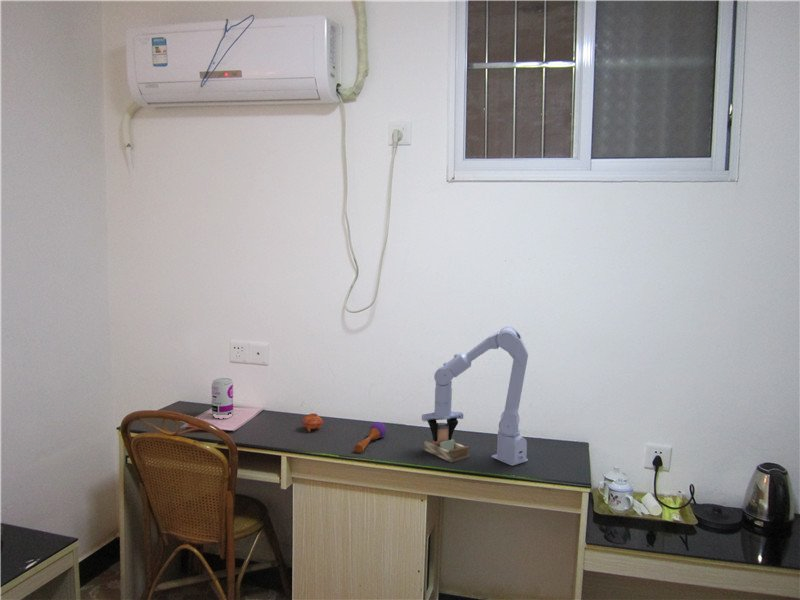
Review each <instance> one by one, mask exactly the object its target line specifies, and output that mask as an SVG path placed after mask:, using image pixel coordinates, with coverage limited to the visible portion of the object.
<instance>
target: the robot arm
mask: <svg viewBox="0 0 800 600" xmlns="http://www.w3.org/2000/svg"><path fill="white" fill-rule="evenodd" d="M499 348H501V349H502V350H503V351H505V352H507V353H508V355H509V356H511V358H512V359H513V361H512V365H511V373H510V377H509V382H508V388H507V394H506V398H505V399H506V401H505V405H504V410H503V412H502V413H501V415H500V420H499V423H498V430H497V447H496V449H497V450H496V453H495V454H493V455H491V458H493V459H495V460H498V461H500V462H502V463H504V464H507V465H509V466H512V467H513V466H517V465H519V464H522V463H526V462H528V460H529V459H528V458H527V452H528V451H527V450H528V441H527V440H526V438H525V437H523V436H522V435H521V431H520V430H519V424H520V415H519V409H520V404H521V403H520V402H521V397H522V392H523V386H524V381H525V377H526V376H525V374H526V369H527V365H528V364H527V363H528V358H529V352H528V350H527V347H526V346H525V343H524V342H523V339H522V335H521V334H520V333H519V332H518V331H517V330H516V329H515V328H514V327H512V326H505V327H502V328H501V329H500V331H499V330H497V331H496V332H494V333H491V334H490V335H488V336H487V337H486V338H485V339H483V340H481V342H479V343H478V344H477V345H475V346H474V347H472V348H471V349H470V350H469V351H468V352H466V353H464V352H460V353H455V354H454V355H453V358H452V359H449V361H447V362H446V361H445V362H443V364H442V366H440V367H438V368H437V370H436V371H435V372H434V376H433V377H434V381H435V388H434V412H430V413H429V412H428V413H423V414H421V421H422V422H423V423H424V422H427V424H428V425H429V429H430V432H431V436H432V440H433V442H435V441H437V428H438V423H439V422H438V421H441V420H442V421H443V420H445V421H446V423H447V424H449V439H448V440H451V439H453V438H452V437H453V434H454V431H455V429H456V427H457V426H458V424H459V420H464V413H463V412H462V411H452V397H453V396H452V395H453V388H452V385H453V384H452V380H453V378H457V377H458V376H459V375H461V374H462V373H464V372H465V371H467V370H468V369H469V368H471V367H472V362H473V361H474V360H476V359H477V358H478V357H480V356H481V355H483V354H484V353H486V352H487V351H490V350H498V349H499ZM458 419H459V420H458Z"/></svg>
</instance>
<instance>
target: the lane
mask: <svg viewBox="0 0 800 600" xmlns="http://www.w3.org/2000/svg"><path fill="white" fill-rule="evenodd" d="M423 445H424V447H423V450H424V451H425V452H428V453H430V454H432V455H435V456H436V457H438V458H440V459H443V460H445V461H447V462H449V463H454V461H455V462H459V461H461V460H466V459H468V458H470V456H471V455H470V453H471V446H469V445H466V446H464V445H463V444H460V443H459V442H456V441H454V449H453V450H450V451H448V450H446V449H443V448H441V447H439V446H437V445H435V441H433V442H429V441H428V440H425V441H424V444H423Z"/></svg>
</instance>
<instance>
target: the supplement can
mask: <svg viewBox="0 0 800 600" xmlns="http://www.w3.org/2000/svg"><path fill="white" fill-rule="evenodd" d="M212 413H213V414H216V415H229V414H232V413H233V414H234V382H233V380H232V378H228V377H221V378H219V377H218V378H215V379H213V381H212V383H211V414H212Z"/></svg>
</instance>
